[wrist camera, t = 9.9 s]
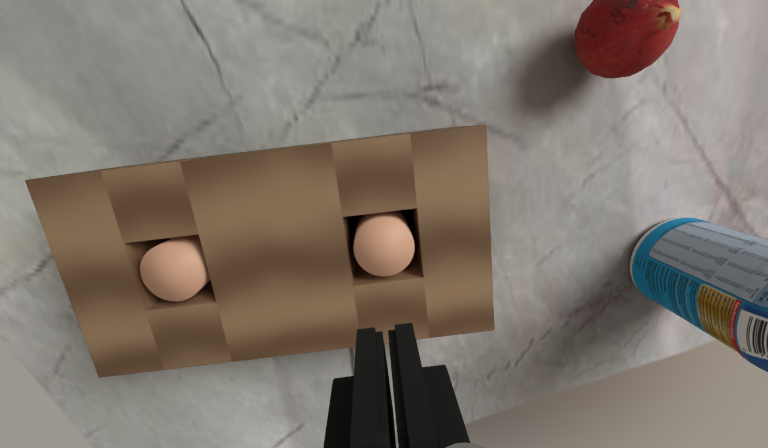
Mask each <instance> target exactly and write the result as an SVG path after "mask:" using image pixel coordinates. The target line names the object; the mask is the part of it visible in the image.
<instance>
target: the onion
mask: <svg viewBox="0 0 768 448" xmlns="http://www.w3.org/2000/svg"><path fill="white" fill-rule="evenodd" d="M680 13H681V9H680V8H679V4H678V0H593V2H592V3H591V4H590V5H589V6H588V7H587V8H586V10H585V11H584V12H583V13H582V14H581V17H580V20H579V22H578V25H577V28H576V31H575V48H576V52H577V55H578V57H579V59H580V62H581V64H582V65H583V66H584V67H585V68H586V69H587V70H588V71H589V72H591V73H592V74H594V75H597V76H601V77H604V78H619V77H627V76H631V75H633V74H635V73H637V72H639V71H641V70H643V69H644V68H646V67H648V66H649V65H651V64H653V63H654V62H655V61H656V60H657V59H658V58H659V57H660V56H661V55H662V54H663V53H664V51H665V50H666V49H667V48H668V47H669V46H670V44H671V43H672V40H673V38H674V36H675V33H676V31H677V29H678V25H679V19H680Z"/></svg>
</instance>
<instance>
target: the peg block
mask: <svg viewBox="0 0 768 448" xmlns="http://www.w3.org/2000/svg"><path fill="white" fill-rule="evenodd" d="M25 182H26V184H27V187H28V190H29V192H30V195H31V198H32V200H33V203H34V206H35V208H36V211H37V214H38V216H39V219H40V221H41V224H42V227H43V229H44V232H45V235H46V237H47V240H48V243H49V245H50V248H51V251H52V253H53V256H54V259H55V261H56V264H57V267H58V269H59V272H60V275H61V277H62V280H63V283H64V285H65V288H66V291H67V293H68V296H69V299H70V301H71V304H72V307H73V309H74V312H75V315H76V317H77V320H78V323H79V325H80V328H81V331H82V333H83V336H84V339H85V341H86V344H87V346H88V349H89V352H90V354H91V357H92V360H93V362H94V365H95V368H96V370H97V373H98V376H99V377H108V376H116V375H124V374H133V373H141V372H149V371H158V370H166V369H174V368H183V367H191V366H199V365H208V364H216V363H224V362H233V361H241V360H249V359H258V358H266V357H274V356H283V355H291V354H299V353H308V352H316V351H325V350H333V349H341V348H350V347H356V334H357V329H363V328H371V327H375V330H376V332H379V331H382V332H383V339H384V343H389V336H388V330H395V325H396V324H404V323H412V324H413V328H414V333H415V338H416V339H425V338H433V337H441V336H450V335H458V334H466V333H475V332H483V331H491V330H494V309H493V284H492V260H491V235H490V210H489V185H488V161H487V136H486V125H476V126H459V127H449V128H441V129H432V130H424V131H416V132H407V133H399V134H391V135H382V136H374V137H366V138H357V139H349V140H340V141H332V142H324V143H315V144H307V145H299V146H290V147H282V148H274V149H265V150H257V151H249V152H240V153H232V154H223V155H215V156H207V157H198V158H190V159H182V160H173V161H165V162H157V163H148V164H140V165H132V166H123V167H115V168H108V169H101V170H94V171H87V172H80V173H72V174H65V175H58V176H51V177H44V178H37V179H30V180H25ZM406 209H408V214H409V224H410V231H411V234H412V236H413V240H414V245H415V249H414V255H413V258H412V260H411V262H410V263H409V265H408V266H407V267H406V268H405V269H404V270H402V271H401V272H399V273H397V274H395V275H392V276H376V275H373V274H370V273H368V272H367V271H365V270H364V269H363V268H362V267H361V266H360V265H359V263H358V262H357V260H356V258H355V255H354V240H355V234H356V233H355V226H354V219H353V216H356V215H364V214H372V213H381V212H389V211H397V210H406ZM197 234H199V237H200V241H201V245H202V249H203V253H204V257H205V260H206V264H207V268H208V272H209V276H210V281H209V282H208V283H207V284H206V285H205V286H204V287H203V288H201V289H200V290H199V291H198V292H197V293H196V294H195V295H194V296H192V297H191V298H189V299H186V300H183V301H168V300H164V299H162V298H160V297H158V296H156V295H154V294H153V293H152V292H151V291H150V290H149V289H148V288H147V287H146V286H145V284H144V282H143V280H142V278H141V274H140V264H141V261H142V258H143V257H144V255H145V254H146V253H147V252H148V251H149V250H150V249H152V248H153V247H155V246H157V245H159V244H161V243H163V242H165V241H167V240H169V239H170V238H172V237H180V236H189V235H197Z"/></svg>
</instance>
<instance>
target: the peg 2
mask: <svg viewBox="0 0 768 448" xmlns="http://www.w3.org/2000/svg"><path fill="white" fill-rule="evenodd" d="M414 249H415V245H414V240H413V236H412V234H411V231H410V229H409V226H408V223H407V221H406V218H405V215H404V213H403V210H397V211H389V212H381V213H372V214H364V215H359V216H358V222H357V228H356V234H355V240H354V255H355V258H356V260H357V262H358V263H359V265H360V266H361V267H362V268H363V269H364V270H365V271H367V272H368V273H370V274H373V275H376V276H392V275H395V274H397V273H399V272H401V271H402V270H404V269H405V268H406V267H407V266H408V265H409V263H410V262H411V260H412V258H413V255H414Z"/></svg>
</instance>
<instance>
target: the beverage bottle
mask: <svg viewBox="0 0 768 448" xmlns="http://www.w3.org/2000/svg"><path fill="white" fill-rule="evenodd" d="M630 274H631V278H632V281H633V283H634V285H635V286H636V288H637V289H638V290H639V291H640V292H641V293H642V294H643V295H644V296H646V297H647V298H649V299H651V300H652V301H654V302H656V303H658V304H660V305H662V306H663V307H665V308H667V309H668V310H670V311H672V312H673V313H675V314H677V315H678V316H680V317H682V318H683V319H685V320H686V321H688V322H690V323H691V324H693V325H695V326H696V327H698V328H699V329H701V330H703V331H704V332H706V333H708V334H709V335H711V336H712V337H714V338H716V339H717V340H719V341H721V342H722V343H724V344H725V345H727V346H729V347H730V348H732V349H734V350H735V351H737V352H738V353H739V354H740V355H741V356H742V357H744V358H745V359H746V360H748V361H749V362H750V363H752V364H754V365H756V366H757V367H759V368H761V369H763V370H765V371H767V372H768V239H765V238H761V237H757V236H753V235H750V234H746V233H742V232H738V231H735V230H731V229H728V228H724V227H721V226H718V225H715V224H712V223H710V222H707V221H703V220H700V219H696V218H689V217H680V218H673V219H670V220H666V221H664V222H662V223H659V224H658V225H656V226H654V227H653V228H651V229H650V230H649V231H648V232H646V233H645V234H644V235H643V237H642V238H641V239H640V240H639V242H638V243H637V245H636V246H635V248H634V250H633V253H632V256H631V260H630Z"/></svg>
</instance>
